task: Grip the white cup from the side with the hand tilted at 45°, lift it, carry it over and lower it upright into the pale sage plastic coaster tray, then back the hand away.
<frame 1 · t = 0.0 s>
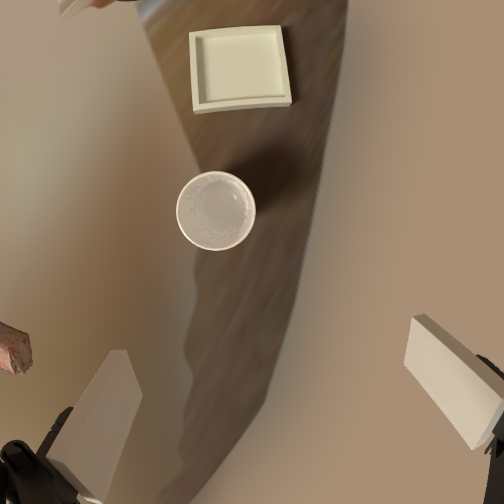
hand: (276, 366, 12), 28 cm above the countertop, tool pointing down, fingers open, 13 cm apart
food item: (14, 337, 41), on the countertop
coaster tray: (238, 68, 33), on the countertop
white cup: (221, 204, 38), on the countertop
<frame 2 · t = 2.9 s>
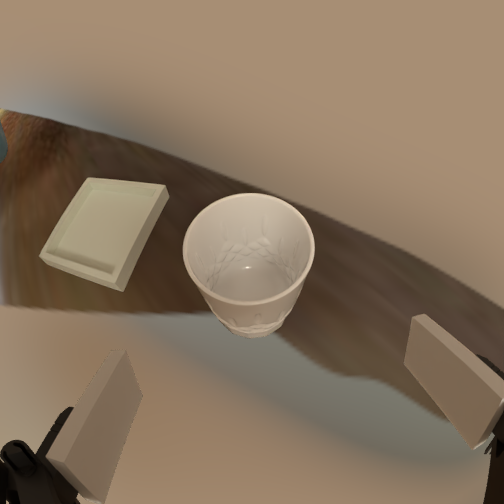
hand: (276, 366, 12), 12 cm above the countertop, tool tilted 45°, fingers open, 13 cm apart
coaster tray: (104, 230, 30), on the countertop
white cup: (252, 303, 26), on the countertop
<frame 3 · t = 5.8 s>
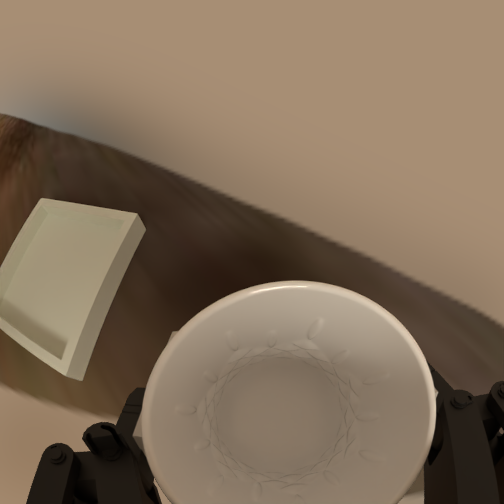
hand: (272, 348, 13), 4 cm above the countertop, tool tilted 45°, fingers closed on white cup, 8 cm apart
coaster tray: (57, 279, 19), on the countertop
white cup: (276, 415, 14), on the countertop, touching gripper
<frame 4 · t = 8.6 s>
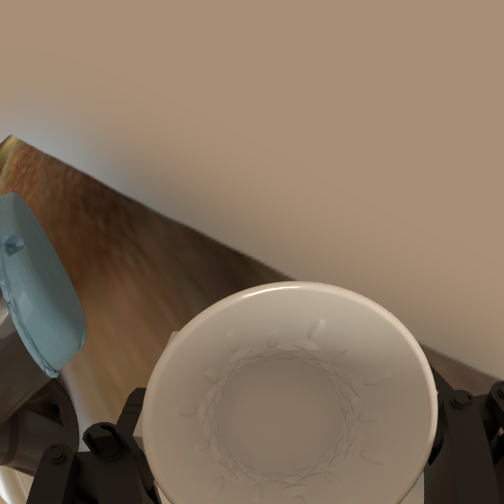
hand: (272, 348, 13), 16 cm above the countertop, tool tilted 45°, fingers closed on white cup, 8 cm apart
white cup: (277, 415, 14), point 12 cm above the countertop, touching gripper
when the fingers open (6 cm above the countertop, at t = 11.5 s): white cup drops 1 cm, resting on coaster tray.
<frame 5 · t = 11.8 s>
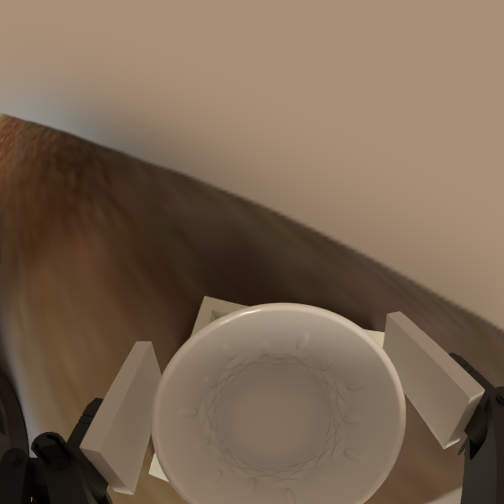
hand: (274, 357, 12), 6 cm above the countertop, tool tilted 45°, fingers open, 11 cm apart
coaster tray: (275, 414, 16), on the countertop
white cup: (272, 416, 16), resting on coaster tray
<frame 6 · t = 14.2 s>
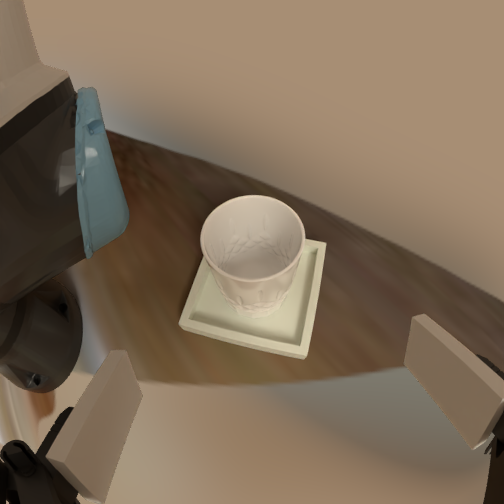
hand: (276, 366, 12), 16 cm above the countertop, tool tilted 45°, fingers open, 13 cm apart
coaster tray: (257, 290, 30), on the countertop
white cup: (255, 289, 30), resting on coaster tray
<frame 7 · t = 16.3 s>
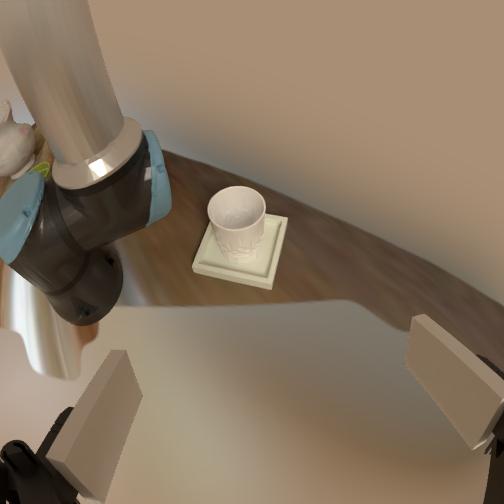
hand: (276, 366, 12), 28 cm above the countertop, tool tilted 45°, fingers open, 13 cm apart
coaster tray: (242, 247, 47), on the countertop
plant pot: (51, 199, 57), on the countertop
white cup: (241, 246, 47), resting on coaster tray
ceramic pitcher: (22, 169, 66), on the countertop
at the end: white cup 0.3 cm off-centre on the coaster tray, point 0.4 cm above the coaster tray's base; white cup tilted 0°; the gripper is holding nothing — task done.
